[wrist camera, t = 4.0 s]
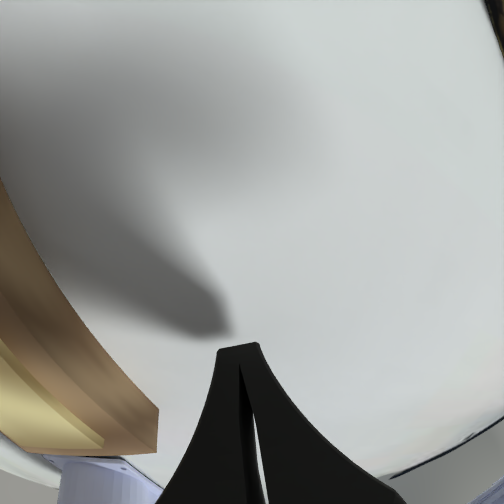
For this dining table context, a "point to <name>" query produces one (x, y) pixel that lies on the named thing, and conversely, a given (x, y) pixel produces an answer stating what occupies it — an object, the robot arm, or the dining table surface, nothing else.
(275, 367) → the dining table surface
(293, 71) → the dining table surface
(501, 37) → the decorative plate
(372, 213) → the dining table surface
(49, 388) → the frame
